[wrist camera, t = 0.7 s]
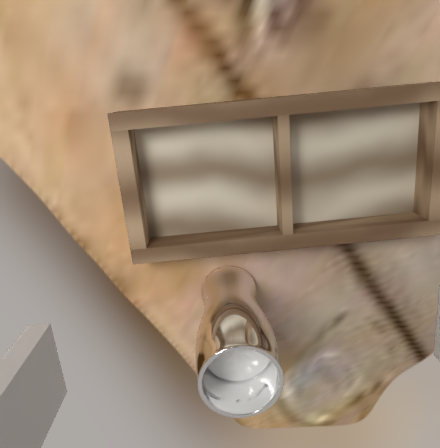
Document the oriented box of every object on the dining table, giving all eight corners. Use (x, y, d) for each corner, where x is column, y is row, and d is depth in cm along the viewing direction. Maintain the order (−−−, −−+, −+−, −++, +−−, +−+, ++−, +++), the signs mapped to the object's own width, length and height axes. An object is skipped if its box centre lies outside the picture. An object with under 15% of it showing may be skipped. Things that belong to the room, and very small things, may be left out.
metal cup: (246, 252, 43) (267, 330, 29) (269, 304, 45) (299, 401, 31) (187, 276, 44) (179, 364, 30) (212, 327, 46) (216, 432, 32)
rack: (117, 111, 38) (107, 113, 34) (430, 82, 39) (456, 81, 35) (139, 248, 43) (133, 264, 39) (420, 221, 43) (443, 234, 39)
